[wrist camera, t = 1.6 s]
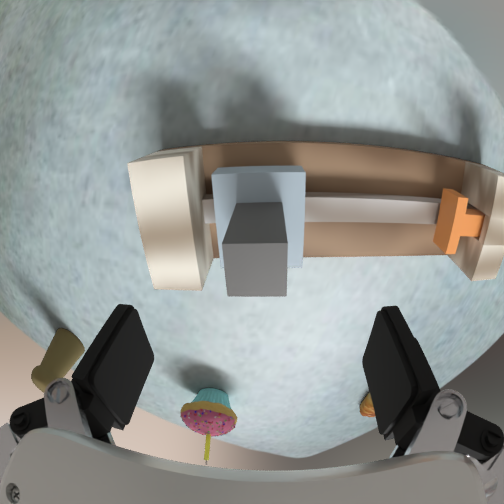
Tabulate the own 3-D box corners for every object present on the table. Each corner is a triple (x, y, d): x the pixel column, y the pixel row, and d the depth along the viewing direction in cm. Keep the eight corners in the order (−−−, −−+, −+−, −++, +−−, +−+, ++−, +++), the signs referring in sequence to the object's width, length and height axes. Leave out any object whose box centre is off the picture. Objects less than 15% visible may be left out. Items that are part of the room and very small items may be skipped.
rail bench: (162, 149, 22) (127, 163, 16) (481, 163, 19) (521, 181, 14) (177, 250, 26) (154, 289, 21) (464, 248, 24) (495, 278, 18)
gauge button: (443, 188, 18) (458, 197, 16) (487, 194, 18) (502, 203, 15) (432, 241, 20) (445, 254, 18) (476, 241, 20) (489, 253, 18)
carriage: (221, 164, 20) (184, 203, 12) (299, 162, 20) (323, 200, 11) (228, 244, 24) (204, 323, 15) (297, 243, 23) (311, 323, 15)
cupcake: (245, 406, 40) (239, 470, 29) (198, 407, 41) (186, 466, 31) (229, 379, 36) (219, 453, 25) (177, 380, 37) (159, 447, 27)
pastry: (377, 408, 41) (381, 425, 37) (349, 407, 40) (351, 425, 37) (408, 380, 36) (414, 398, 33) (379, 378, 36) (385, 397, 32)
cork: (53, 323, 34) (20, 369, 25) (81, 336, 35) (49, 387, 25) (61, 345, 37) (33, 389, 28) (87, 358, 38) (61, 406, 28)
